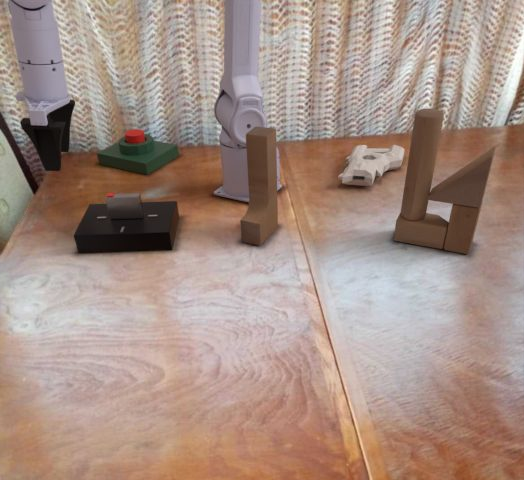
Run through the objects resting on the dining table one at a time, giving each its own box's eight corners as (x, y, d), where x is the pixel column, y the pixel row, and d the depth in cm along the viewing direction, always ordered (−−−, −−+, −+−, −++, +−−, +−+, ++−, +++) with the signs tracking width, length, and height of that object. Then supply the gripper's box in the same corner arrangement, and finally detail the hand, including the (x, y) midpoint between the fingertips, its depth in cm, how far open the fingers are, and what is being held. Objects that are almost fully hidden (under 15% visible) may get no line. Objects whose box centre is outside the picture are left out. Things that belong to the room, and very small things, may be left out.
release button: (149, 140, 104) (147, 130, 103) (137, 146, 102) (135, 137, 101) (134, 137, 106) (133, 128, 104) (122, 143, 103) (120, 134, 102)
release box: (179, 155, 107) (176, 135, 104) (147, 175, 101) (143, 153, 98) (132, 146, 112) (128, 126, 109) (99, 164, 105) (94, 143, 103)
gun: (396, 173, 88) (336, 169, 91) (394, 193, 90) (335, 189, 93) (406, 139, 102) (353, 136, 104) (404, 158, 104) (352, 154, 106)
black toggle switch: (179, 217, 87) (176, 199, 85) (172, 250, 80) (169, 231, 78) (93, 221, 88) (89, 203, 85) (78, 253, 80) (72, 234, 78)
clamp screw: (144, 214, 82) (139, 191, 80) (143, 218, 81) (138, 195, 79) (111, 215, 82) (106, 192, 80) (110, 219, 81) (104, 196, 79)
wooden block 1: (259, 222, 85) (255, 125, 75) (278, 226, 84) (276, 128, 74) (241, 242, 81) (234, 142, 71) (260, 246, 80) (256, 145, 70)
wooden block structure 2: (468, 255, 76) (501, 124, 64) (392, 241, 79) (410, 115, 68) (472, 243, 78) (504, 114, 66) (398, 230, 82) (417, 106, 70)
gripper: (21, 47, 77) (39, 142, 86) (-5, 71, 66) (18, 178, 75) (72, 50, 78) (84, 144, 87) (54, 74, 67) (71, 179, 76)
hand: (57, 160), depth 81 cm, fingers open, 7 cm apart
